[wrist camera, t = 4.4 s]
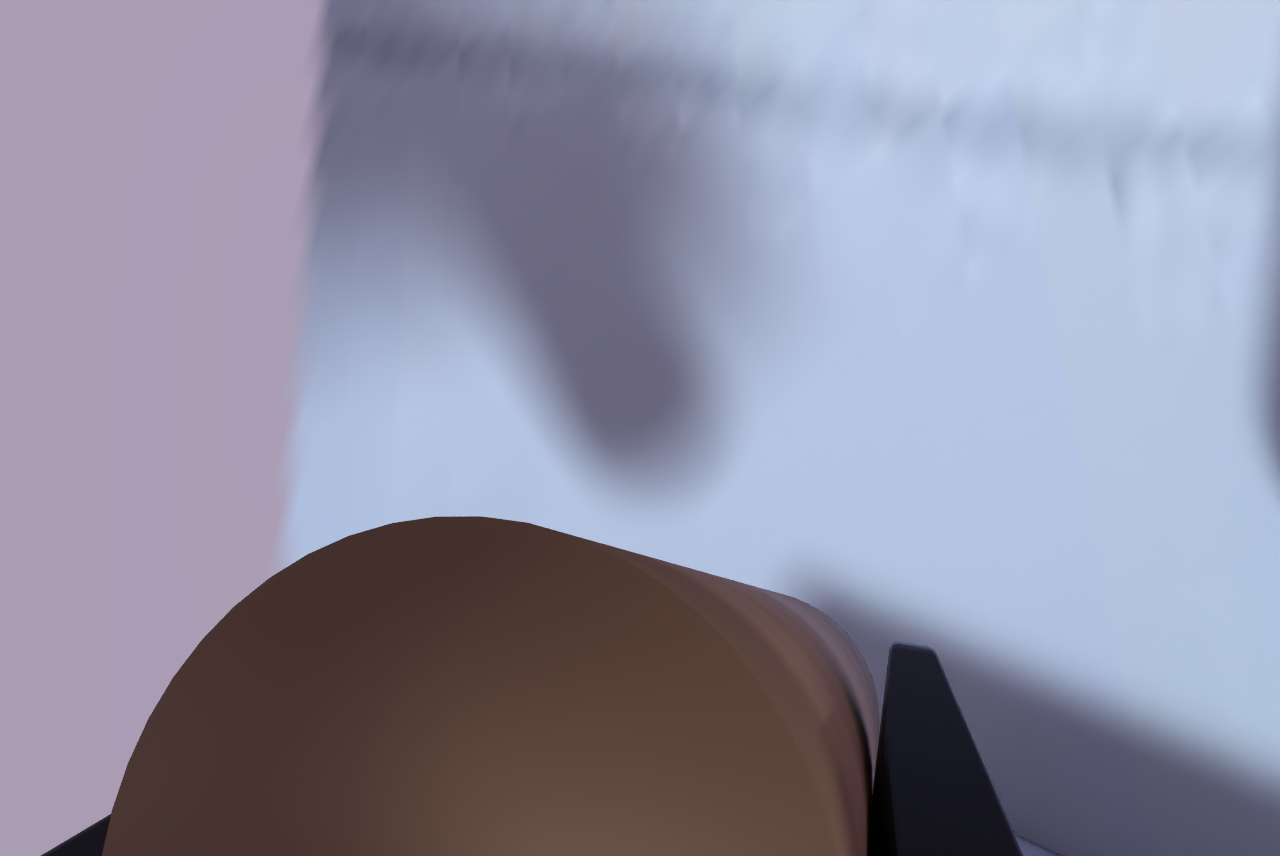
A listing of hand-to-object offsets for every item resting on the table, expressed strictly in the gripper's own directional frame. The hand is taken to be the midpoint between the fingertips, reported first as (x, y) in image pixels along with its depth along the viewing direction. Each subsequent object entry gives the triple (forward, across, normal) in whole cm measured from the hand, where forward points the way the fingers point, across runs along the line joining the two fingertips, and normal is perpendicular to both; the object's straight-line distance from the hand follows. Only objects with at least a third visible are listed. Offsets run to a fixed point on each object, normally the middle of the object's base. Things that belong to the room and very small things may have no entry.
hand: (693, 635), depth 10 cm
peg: (+4, 0, +6) cm, 7 cm away
